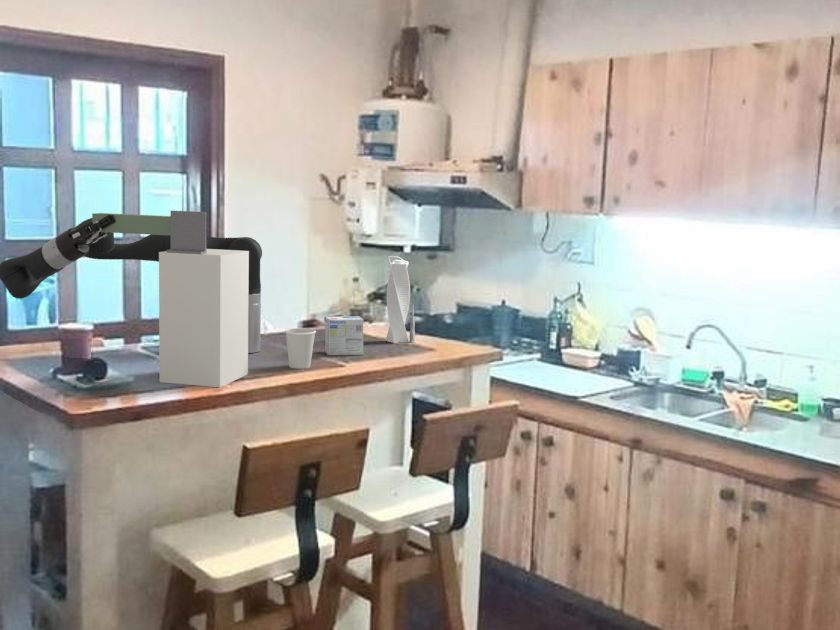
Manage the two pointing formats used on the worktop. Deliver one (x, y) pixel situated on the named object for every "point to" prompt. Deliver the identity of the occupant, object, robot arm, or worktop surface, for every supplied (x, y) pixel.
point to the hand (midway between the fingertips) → (118, 217)
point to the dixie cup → (300, 347)
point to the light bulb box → (344, 335)
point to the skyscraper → (399, 303)
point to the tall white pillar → (203, 317)
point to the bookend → (188, 232)
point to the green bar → (136, 224)
